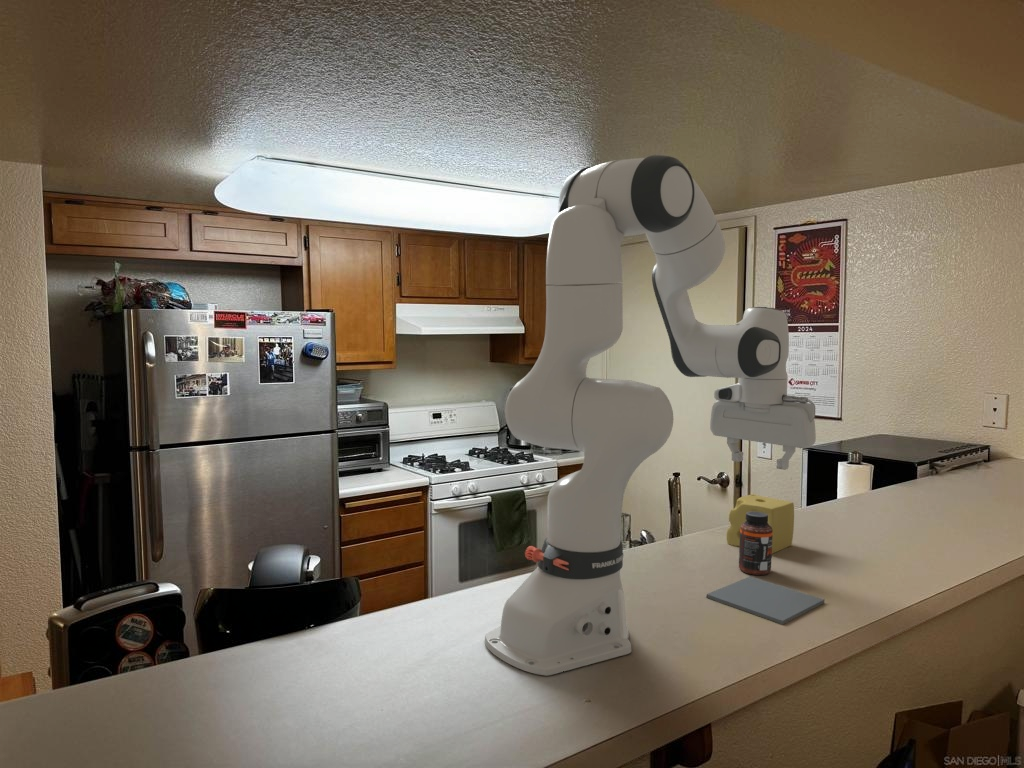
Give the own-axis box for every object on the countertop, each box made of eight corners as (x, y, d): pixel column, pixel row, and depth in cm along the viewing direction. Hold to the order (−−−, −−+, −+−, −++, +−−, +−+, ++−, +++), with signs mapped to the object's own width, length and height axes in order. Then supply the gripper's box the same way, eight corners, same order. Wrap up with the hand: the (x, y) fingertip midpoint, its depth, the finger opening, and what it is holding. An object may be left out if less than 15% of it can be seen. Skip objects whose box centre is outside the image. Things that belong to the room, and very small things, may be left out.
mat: (782, 624, 108) (782, 620, 108) (706, 597, 119) (706, 594, 119) (824, 602, 117) (824, 599, 117) (750, 579, 128) (750, 576, 128)
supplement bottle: (773, 577, 129) (776, 518, 128) (740, 574, 130) (742, 516, 129) (768, 567, 135) (770, 510, 134) (736, 564, 136) (738, 508, 135)
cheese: (725, 544, 149) (727, 499, 149) (751, 535, 156) (752, 492, 156) (770, 556, 142) (772, 509, 141) (795, 546, 149) (797, 501, 148)
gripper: (824, 396, 124) (820, 471, 125) (724, 388, 140) (722, 455, 141) (807, 399, 120) (803, 476, 121) (706, 390, 136) (704, 458, 137)
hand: (759, 464), depth 131 cm, fingers open, 8 cm apart
